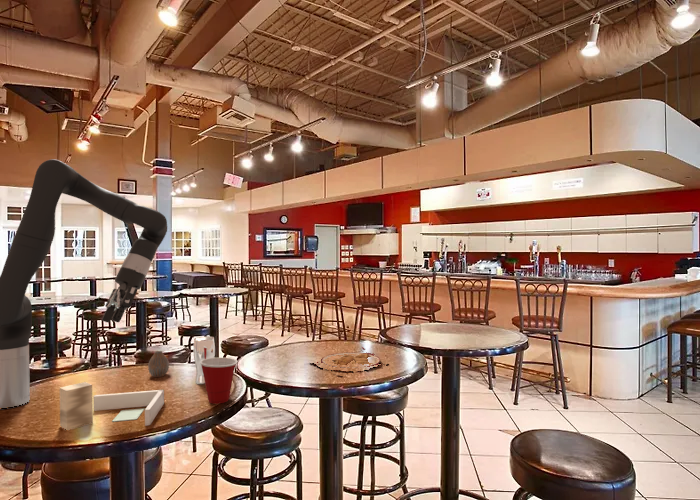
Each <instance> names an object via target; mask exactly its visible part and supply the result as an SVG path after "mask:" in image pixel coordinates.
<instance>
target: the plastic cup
mask: <svg viewBox="0 0 700 500" xmlns="http://www.w3.org/2000/svg"><path fill="white" fill-rule="evenodd" d="M238 362H239V361H238V360H237V359H235V358H231V357H214V358H208V359H204V360H201V361H200V364H201V366H202V370H203V374H204V380H205V384H204V385H205V390H206V394H207V400H208V402H209V404H212V405H215V404H216V405H217V404H218V405H219V404H225V403H226V402H228V401H229V400H230V396H231V390H232V385H233V377H234V372H235V368H236V366H237V364H238Z"/></svg>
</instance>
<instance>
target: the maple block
mask: <svg viewBox="0 0 700 500" xmlns="http://www.w3.org/2000/svg"><path fill="white" fill-rule="evenodd" d="M93 413H94V401H93V384H91V383H89V382H87V381H84V382H78V383H74V384H70V385H66V386H61V387H59V427H60V426H61V427H62V428H61V427H60V428H61V429H63V428H64V429H63V430H65V429H66V430H68V431H70V429H71V430H74V429H77V428H81V427H84V426H87V425H91V424H94V421H93V420H94V416H93V415H94V414H93ZM66 430H65V431H66Z"/></svg>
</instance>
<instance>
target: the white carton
mask: <svg viewBox="0 0 700 500" xmlns="http://www.w3.org/2000/svg"><path fill="white" fill-rule="evenodd" d="M192 352H193V359H194V365H195V370H196V372H195V373H196V374H195V376H196V377H195V384H196V385H201V386H202V385H205V380H204V374H203V370H202V366H201V364H200V361H201V360H204V359H208V358H215V355H216V346H215V337H214V336H210V335H209V336H206V335H205V336H198V337H195V338H193V351H192Z"/></svg>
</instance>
